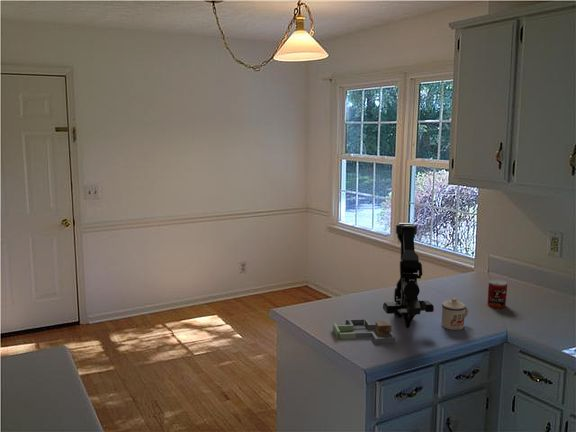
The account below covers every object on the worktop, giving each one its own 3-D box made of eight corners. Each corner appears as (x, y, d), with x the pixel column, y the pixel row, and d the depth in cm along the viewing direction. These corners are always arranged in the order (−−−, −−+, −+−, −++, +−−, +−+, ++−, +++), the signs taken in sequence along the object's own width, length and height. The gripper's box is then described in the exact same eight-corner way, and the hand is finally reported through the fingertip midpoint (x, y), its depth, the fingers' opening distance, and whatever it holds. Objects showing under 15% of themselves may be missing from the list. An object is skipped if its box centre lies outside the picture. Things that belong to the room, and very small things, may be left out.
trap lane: (381, 322, 222) (381, 315, 221) (395, 342, 202) (396, 335, 201) (330, 324, 219) (330, 317, 219) (340, 345, 200) (340, 337, 199)
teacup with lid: (451, 332, 212) (453, 303, 210) (436, 324, 220) (437, 296, 218) (474, 327, 217) (476, 299, 215) (458, 319, 225) (460, 292, 223)
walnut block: (387, 330, 214) (388, 320, 214) (391, 335, 209) (391, 325, 209) (375, 330, 214) (375, 321, 213) (378, 335, 209) (378, 325, 208)
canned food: (486, 307, 240) (488, 283, 238) (487, 301, 247) (489, 278, 245) (505, 309, 237) (507, 285, 235) (505, 303, 244) (507, 280, 242)
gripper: (391, 297, 201) (390, 337, 203) (440, 295, 203) (438, 334, 205) (383, 288, 211) (381, 325, 214) (429, 286, 214) (427, 324, 216)
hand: (407, 327), depth 212 cm, fingers closed
